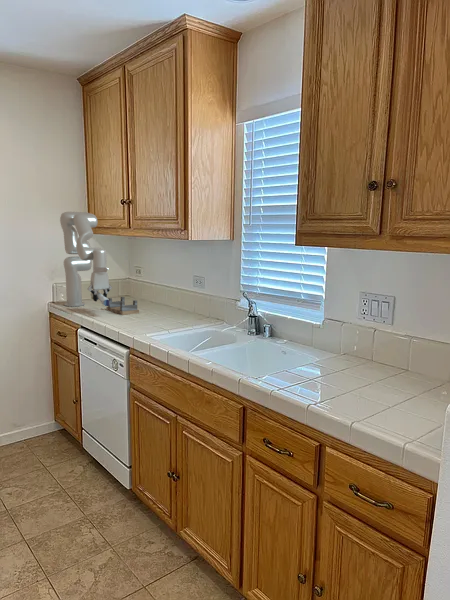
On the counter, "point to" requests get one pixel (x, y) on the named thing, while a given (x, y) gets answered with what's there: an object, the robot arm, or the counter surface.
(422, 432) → the counter surface
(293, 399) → the counter surface
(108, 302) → the white elongated piece
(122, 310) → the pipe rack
